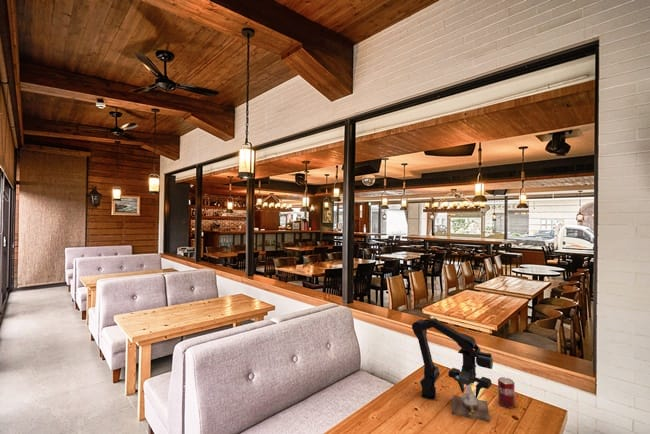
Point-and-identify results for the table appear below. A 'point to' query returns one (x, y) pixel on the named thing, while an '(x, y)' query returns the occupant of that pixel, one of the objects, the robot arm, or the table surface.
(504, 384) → the soda can
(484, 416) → the post base
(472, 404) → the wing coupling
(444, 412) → the table surface
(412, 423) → the table surface
